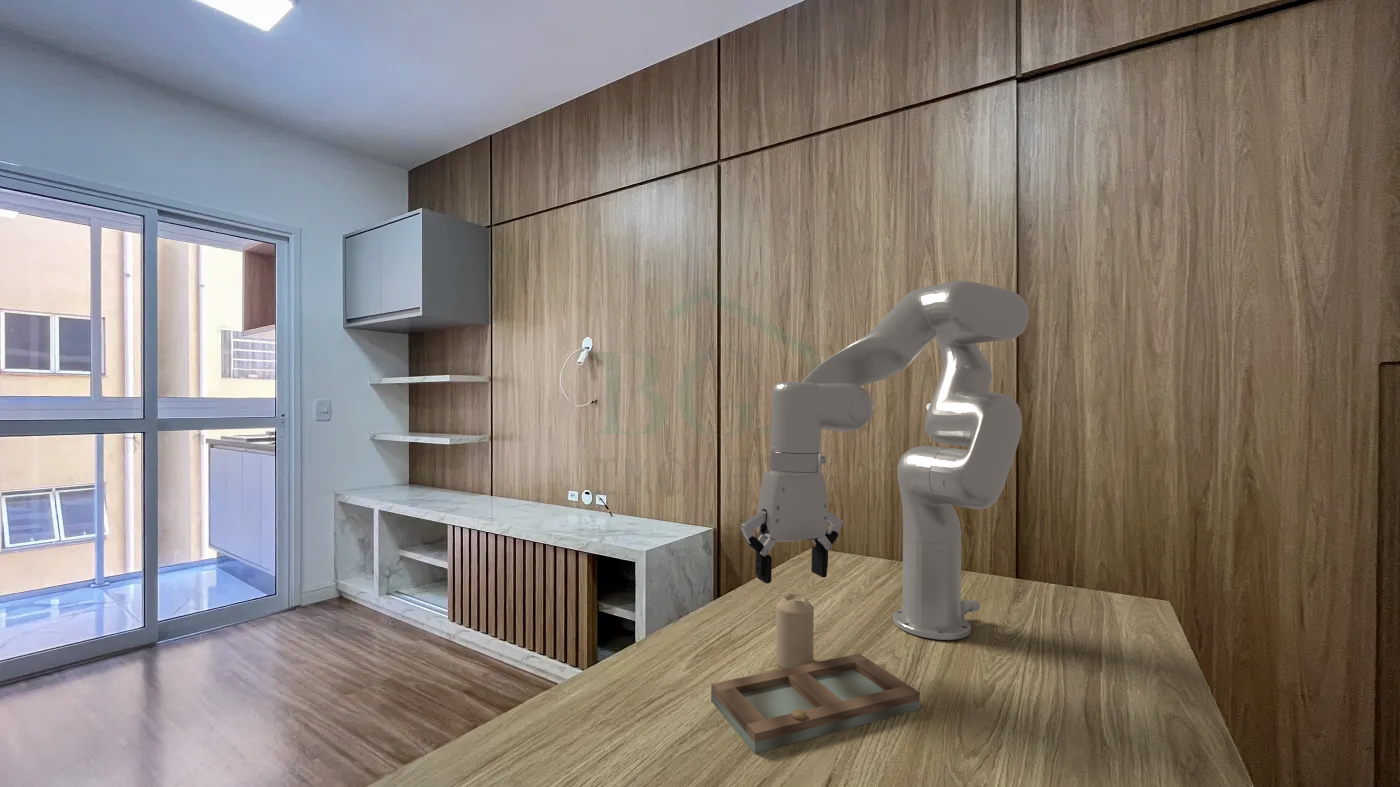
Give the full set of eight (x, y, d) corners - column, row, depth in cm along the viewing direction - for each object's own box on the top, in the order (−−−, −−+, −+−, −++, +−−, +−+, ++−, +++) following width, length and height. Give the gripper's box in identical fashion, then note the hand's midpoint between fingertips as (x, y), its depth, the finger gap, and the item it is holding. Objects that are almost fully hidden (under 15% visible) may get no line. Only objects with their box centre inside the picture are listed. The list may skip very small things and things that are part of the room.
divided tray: (859, 668, 84) (859, 650, 84) (919, 709, 73) (919, 689, 73) (711, 700, 75) (711, 680, 75) (754, 753, 64) (754, 730, 64)
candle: (813, 673, 82) (813, 604, 82) (774, 669, 83) (775, 601, 83) (813, 657, 88) (813, 592, 88) (777, 653, 89) (777, 589, 89)
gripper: (827, 460, 92) (825, 566, 92) (732, 461, 86) (729, 575, 85) (857, 465, 86) (854, 579, 85) (756, 467, 79) (753, 591, 78)
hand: (791, 577), depth 85 cm, fingers open, 9 cm apart
